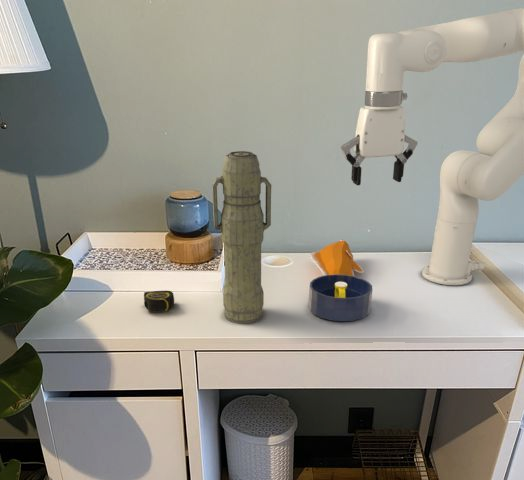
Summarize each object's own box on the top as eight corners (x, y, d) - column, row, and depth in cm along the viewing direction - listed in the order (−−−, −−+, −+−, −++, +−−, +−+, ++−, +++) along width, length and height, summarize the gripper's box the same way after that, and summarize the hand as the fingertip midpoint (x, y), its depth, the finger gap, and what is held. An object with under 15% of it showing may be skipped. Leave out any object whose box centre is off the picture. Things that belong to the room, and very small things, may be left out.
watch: (331, 302, 130) (332, 278, 128) (342, 302, 131) (344, 278, 128) (335, 313, 125) (337, 289, 122) (347, 313, 125) (349, 288, 122)
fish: (366, 240, 153) (314, 224, 152) (372, 292, 132) (312, 274, 130) (357, 261, 157) (306, 245, 156) (361, 314, 136) (303, 297, 134)
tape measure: (174, 302, 132) (173, 287, 130) (175, 314, 126) (174, 299, 124) (144, 304, 131) (143, 289, 129) (144, 316, 125) (143, 301, 123)
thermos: (274, 321, 123) (276, 156, 106) (221, 326, 121) (215, 158, 104) (265, 304, 131) (266, 148, 113) (215, 309, 128) (208, 150, 111)
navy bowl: (358, 295, 135) (360, 272, 132) (378, 321, 123) (381, 296, 120) (302, 299, 133) (303, 276, 130) (317, 325, 121) (319, 300, 118)
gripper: (413, 96, 122) (405, 176, 131) (338, 100, 119) (335, 181, 128) (429, 99, 116) (419, 183, 124) (349, 104, 113) (345, 189, 121)
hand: (376, 182), depth 126 cm, fingers open, 9 cm apart
